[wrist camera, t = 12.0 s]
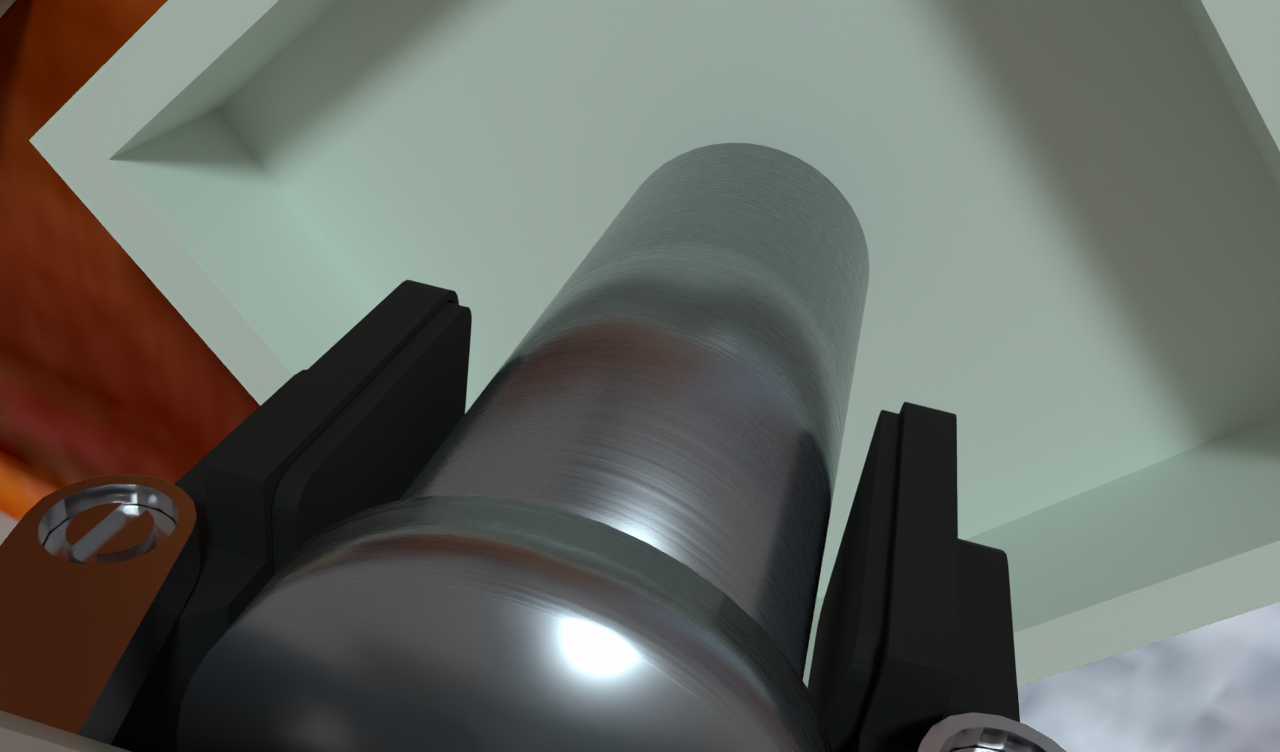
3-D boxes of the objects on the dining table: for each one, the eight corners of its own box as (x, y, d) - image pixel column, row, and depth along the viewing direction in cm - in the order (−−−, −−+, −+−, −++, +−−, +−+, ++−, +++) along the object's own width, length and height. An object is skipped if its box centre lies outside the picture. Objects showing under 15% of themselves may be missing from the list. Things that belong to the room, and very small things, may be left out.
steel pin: (783, 51, 15) (524, 468, 6) (956, 319, 17) (961, 1011, 7) (532, 220, 18) (59, 720, 8) (701, 446, 19) (455, 1106, 10)
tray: (941, -637, 14) (939, -777, 10) (1447, 367, 18) (1567, 507, 14) (179, 81, 21) (29, 140, 17) (663, 674, 25) (618, 816, 22)
